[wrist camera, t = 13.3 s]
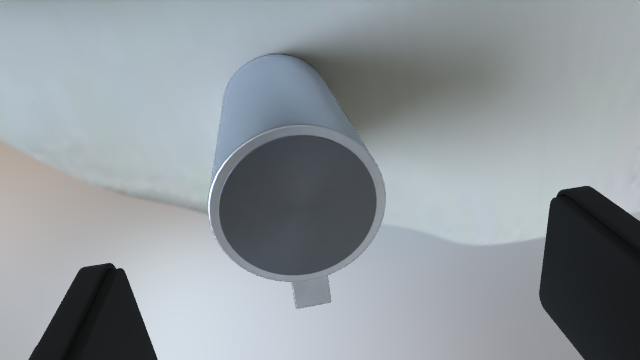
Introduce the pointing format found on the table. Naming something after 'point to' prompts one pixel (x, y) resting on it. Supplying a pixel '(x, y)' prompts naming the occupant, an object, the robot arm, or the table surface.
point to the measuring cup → (291, 179)
